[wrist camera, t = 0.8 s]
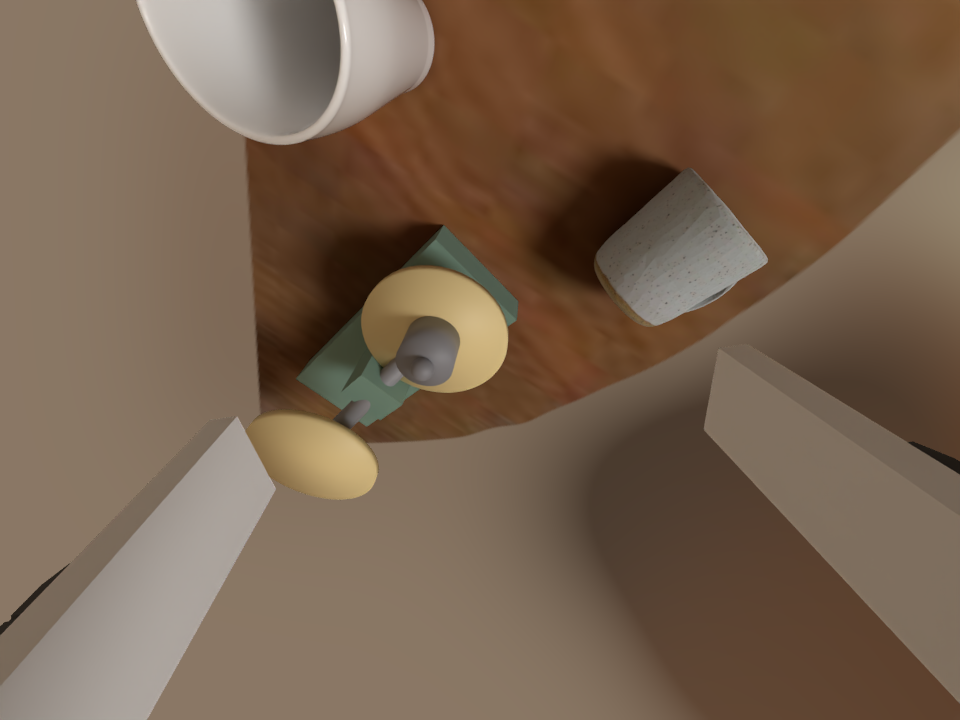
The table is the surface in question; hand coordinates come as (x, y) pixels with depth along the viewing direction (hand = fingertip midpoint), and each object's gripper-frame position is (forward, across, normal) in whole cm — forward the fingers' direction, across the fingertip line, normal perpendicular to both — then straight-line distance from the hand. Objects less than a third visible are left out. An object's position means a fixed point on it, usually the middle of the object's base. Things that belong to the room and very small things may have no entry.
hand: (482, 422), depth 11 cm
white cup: (+21, -2, +14) cm, 25 cm away
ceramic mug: (+20, +16, -1) cm, 25 cm away
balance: (+26, -7, -7) cm, 28 cm away
